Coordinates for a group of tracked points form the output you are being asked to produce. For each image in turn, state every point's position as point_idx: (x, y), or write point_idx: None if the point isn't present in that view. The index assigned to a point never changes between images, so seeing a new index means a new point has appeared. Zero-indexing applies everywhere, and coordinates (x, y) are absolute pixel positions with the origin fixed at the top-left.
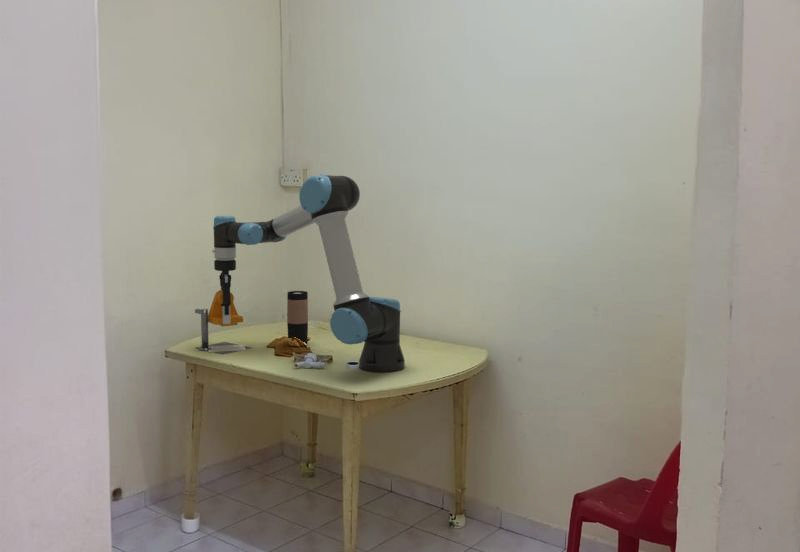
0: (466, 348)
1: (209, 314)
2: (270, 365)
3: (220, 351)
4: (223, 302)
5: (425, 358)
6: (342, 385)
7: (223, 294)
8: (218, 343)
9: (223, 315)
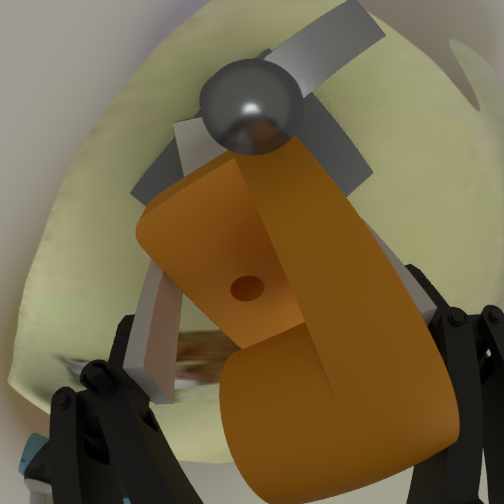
0: (228, 459)
1: (275, 154)
2: (61, 324)
3: (183, 172)
4: (52, 407)
5: (173, 447)
6: (20, 382)
7: (54, 481)
8: (349, 148)
9: (143, 300)
